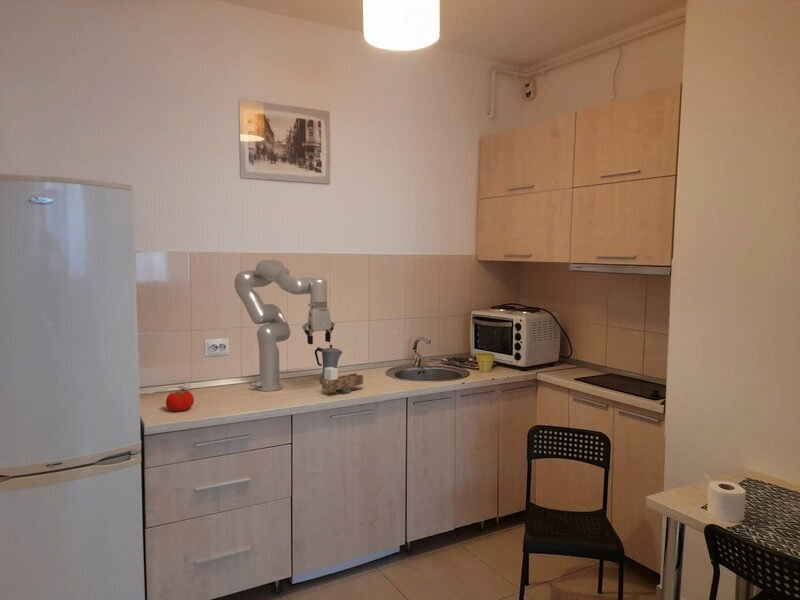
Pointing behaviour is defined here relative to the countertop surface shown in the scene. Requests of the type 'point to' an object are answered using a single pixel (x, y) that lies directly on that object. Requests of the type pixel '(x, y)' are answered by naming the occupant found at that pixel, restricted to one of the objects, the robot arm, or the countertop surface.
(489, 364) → the plant pot
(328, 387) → the beam
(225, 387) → the countertop surface
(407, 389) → the countertop surface
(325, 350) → the moka pot
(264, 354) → the robot arm
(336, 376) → the white block
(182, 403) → the tomato
